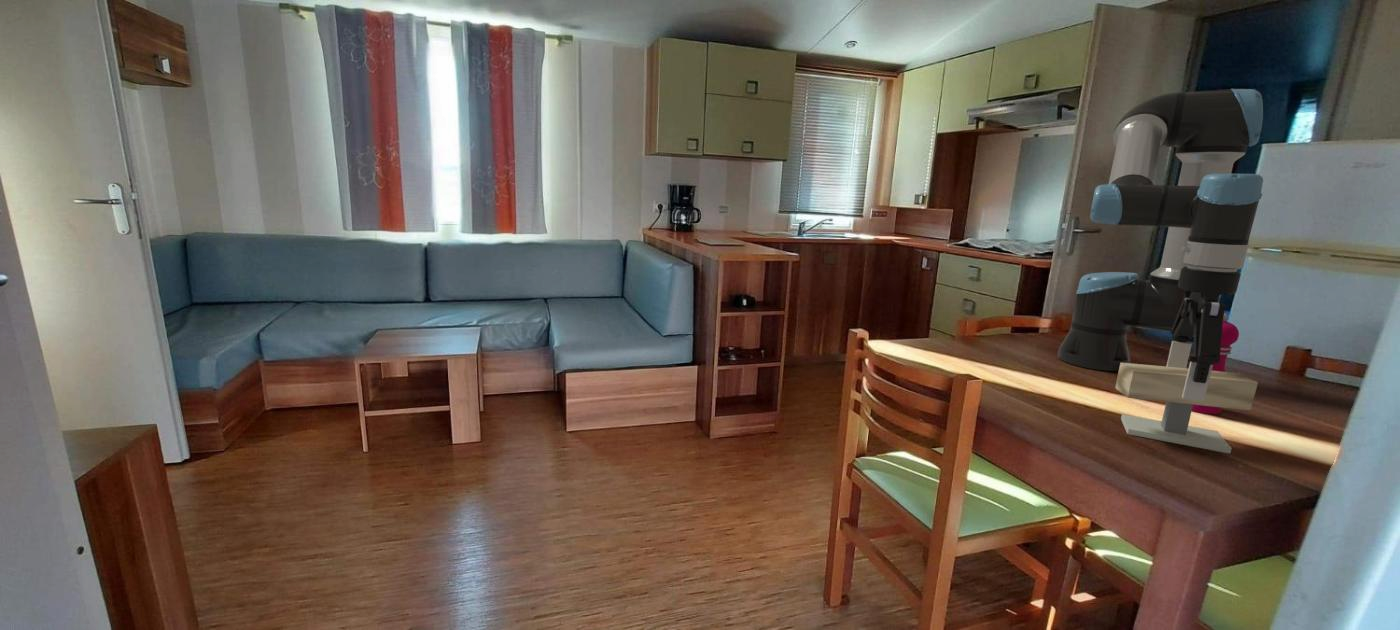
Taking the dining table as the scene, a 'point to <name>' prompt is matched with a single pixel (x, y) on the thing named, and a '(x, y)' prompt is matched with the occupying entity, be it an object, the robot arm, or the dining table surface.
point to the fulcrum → (1176, 429)
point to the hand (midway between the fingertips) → (1182, 387)
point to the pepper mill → (1221, 359)
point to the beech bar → (1171, 382)
